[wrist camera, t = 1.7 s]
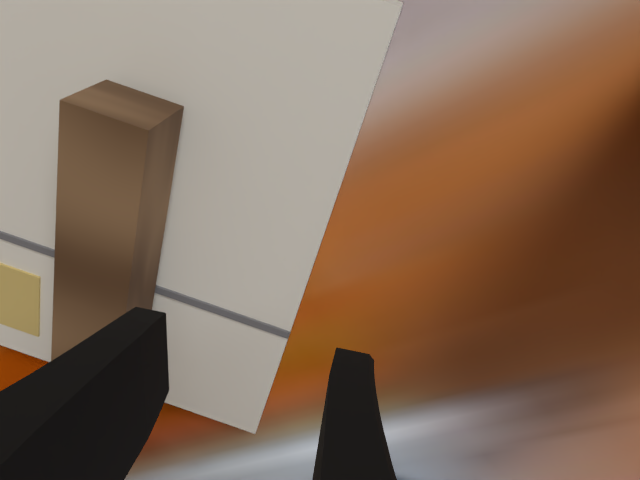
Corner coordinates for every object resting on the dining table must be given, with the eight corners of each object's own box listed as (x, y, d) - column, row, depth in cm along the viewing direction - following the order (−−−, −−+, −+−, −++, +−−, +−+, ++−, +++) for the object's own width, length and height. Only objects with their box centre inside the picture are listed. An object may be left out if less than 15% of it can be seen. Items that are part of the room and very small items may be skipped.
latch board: (262, 413, 25) (254, 435, 23) (-110, 283, 25) (-135, 299, 24) (403, 2, 15) (401, 7, 14) (-190, -201, 15) (-239, -212, 14)
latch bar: (140, 377, 22) (106, 430, 20) (84, 357, 22) (43, 408, 20) (184, 106, 16) (141, 135, 14) (105, 79, 16) (50, 103, 14)
